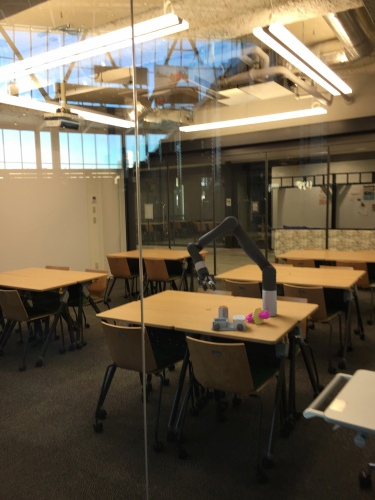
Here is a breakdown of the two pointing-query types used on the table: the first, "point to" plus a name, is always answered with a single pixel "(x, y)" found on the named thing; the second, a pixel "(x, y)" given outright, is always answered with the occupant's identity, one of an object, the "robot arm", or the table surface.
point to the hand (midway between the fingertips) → (210, 290)
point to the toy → (258, 316)
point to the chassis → (229, 323)
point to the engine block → (223, 312)
